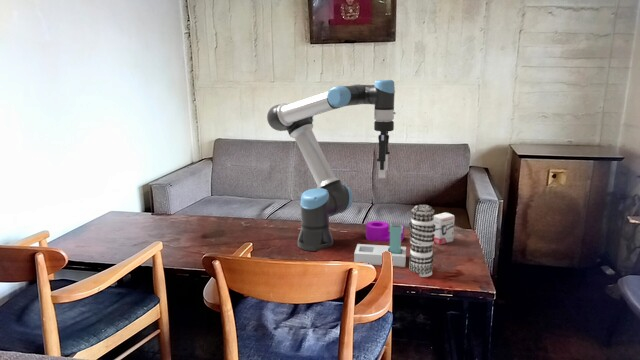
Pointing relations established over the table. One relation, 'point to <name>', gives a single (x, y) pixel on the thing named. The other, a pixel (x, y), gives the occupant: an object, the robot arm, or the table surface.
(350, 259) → the table surface
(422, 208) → the decorative candle
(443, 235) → the ink box
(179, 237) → the table surface
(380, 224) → the tape dispenser
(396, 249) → the plug
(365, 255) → the white slotted block
